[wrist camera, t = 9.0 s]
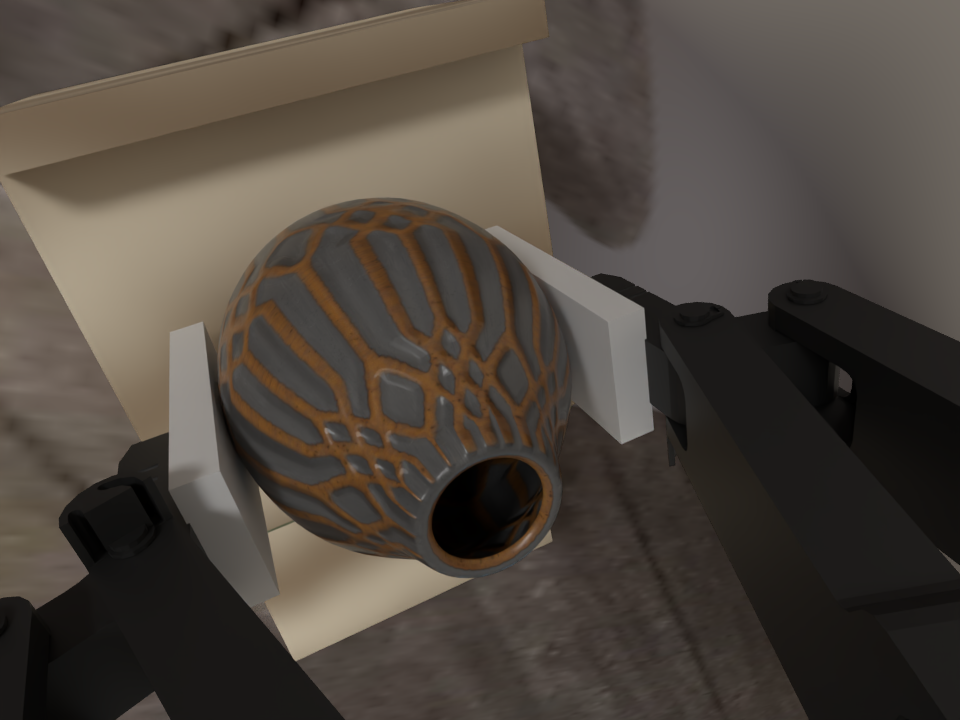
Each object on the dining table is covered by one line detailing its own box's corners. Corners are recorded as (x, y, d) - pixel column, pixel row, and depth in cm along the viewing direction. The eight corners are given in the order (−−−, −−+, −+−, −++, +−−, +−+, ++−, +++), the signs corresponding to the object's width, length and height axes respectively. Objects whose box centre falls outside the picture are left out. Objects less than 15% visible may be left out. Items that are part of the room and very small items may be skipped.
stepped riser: (36, 94, 20) (-56, 127, 12) (425, 5, 23) (558, -16, 15) (282, 602, 31) (321, 798, 23) (526, 494, 34) (635, 633, 26)
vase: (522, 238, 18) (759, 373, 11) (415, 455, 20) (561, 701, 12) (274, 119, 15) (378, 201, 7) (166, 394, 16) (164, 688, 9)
